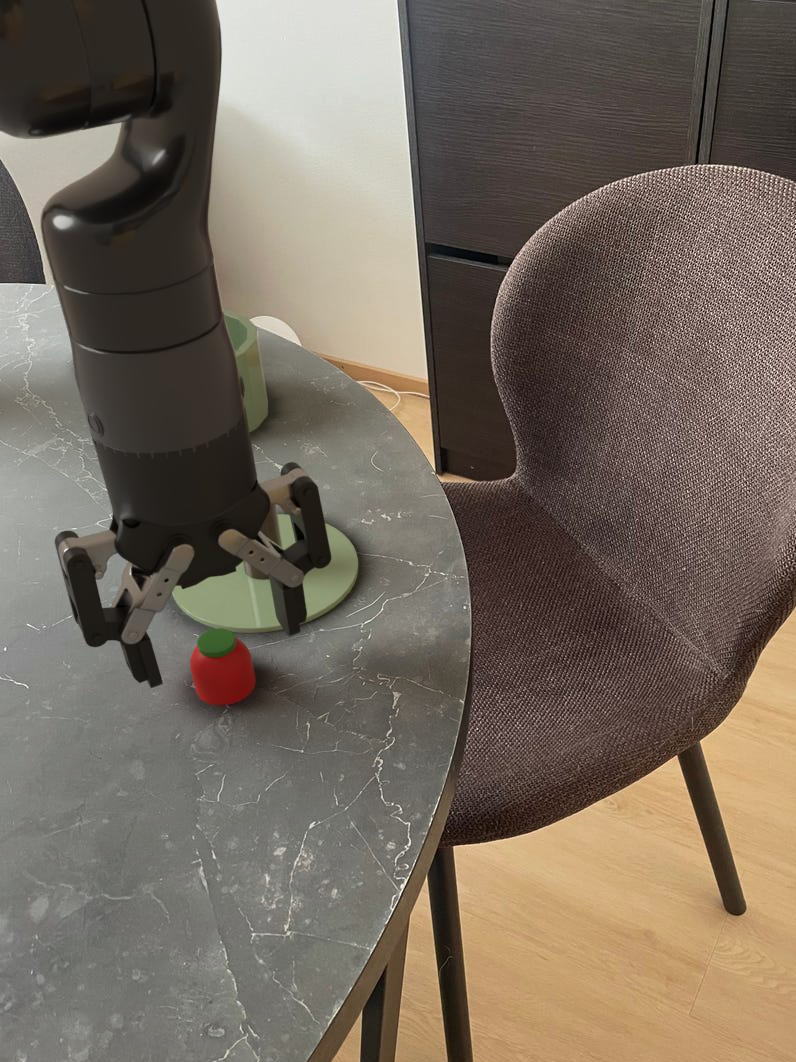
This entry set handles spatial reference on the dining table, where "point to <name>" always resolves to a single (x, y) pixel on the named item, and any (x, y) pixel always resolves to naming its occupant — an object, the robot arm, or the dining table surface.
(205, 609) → the lid
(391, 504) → the dining table surface
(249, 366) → the pot
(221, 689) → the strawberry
